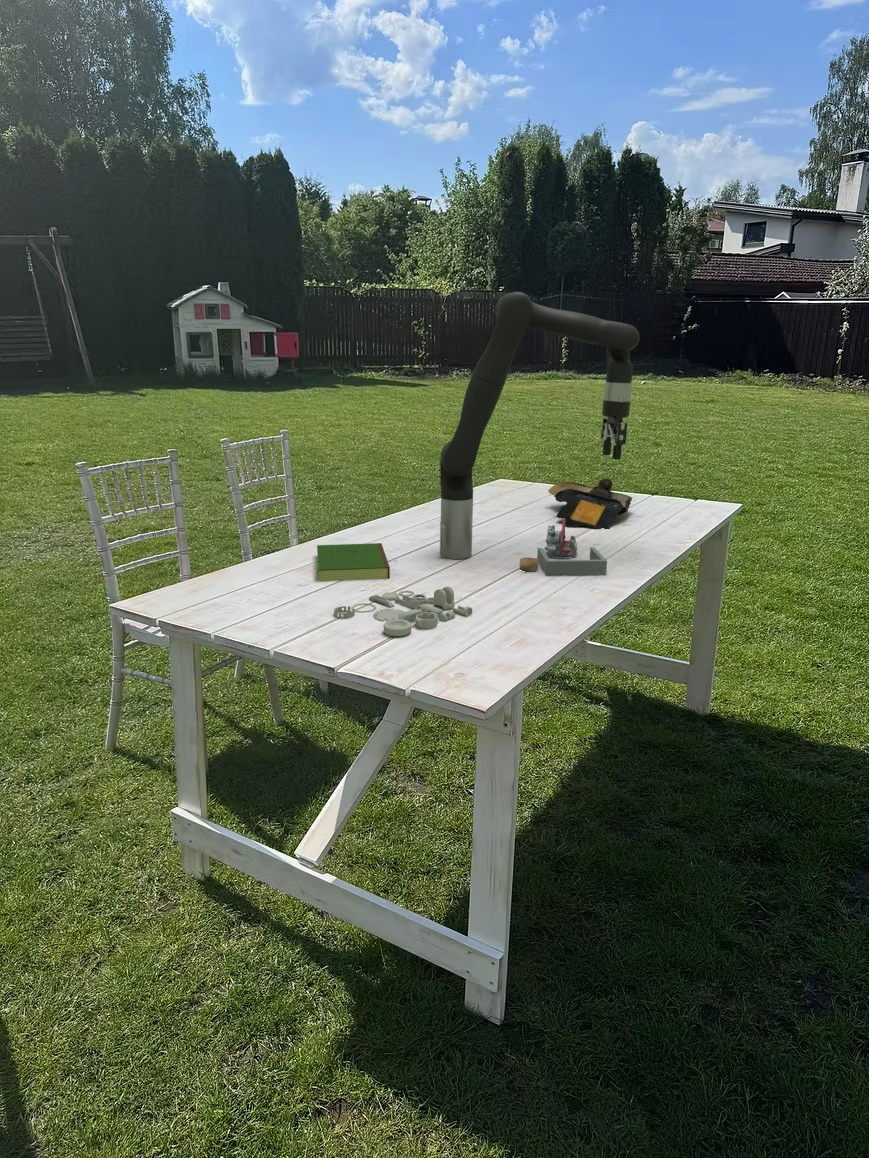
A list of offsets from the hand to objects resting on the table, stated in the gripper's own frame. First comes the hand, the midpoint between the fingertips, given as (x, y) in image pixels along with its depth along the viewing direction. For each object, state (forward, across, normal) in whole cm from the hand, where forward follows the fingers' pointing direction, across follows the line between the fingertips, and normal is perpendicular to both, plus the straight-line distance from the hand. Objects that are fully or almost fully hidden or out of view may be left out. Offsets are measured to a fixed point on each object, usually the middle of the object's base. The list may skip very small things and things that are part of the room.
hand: (611, 457), depth 224 cm
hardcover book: (+32, +6, -74) cm, 81 cm away
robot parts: (+32, +44, -63) cm, 84 cm away
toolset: (+28, -49, +10) cm, 58 cm away
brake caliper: (+29, -1, -12) cm, 32 cm away
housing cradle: (+29, +12, -13) cm, 34 cm away
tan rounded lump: (+30, +14, -25) cm, 41 cm away
